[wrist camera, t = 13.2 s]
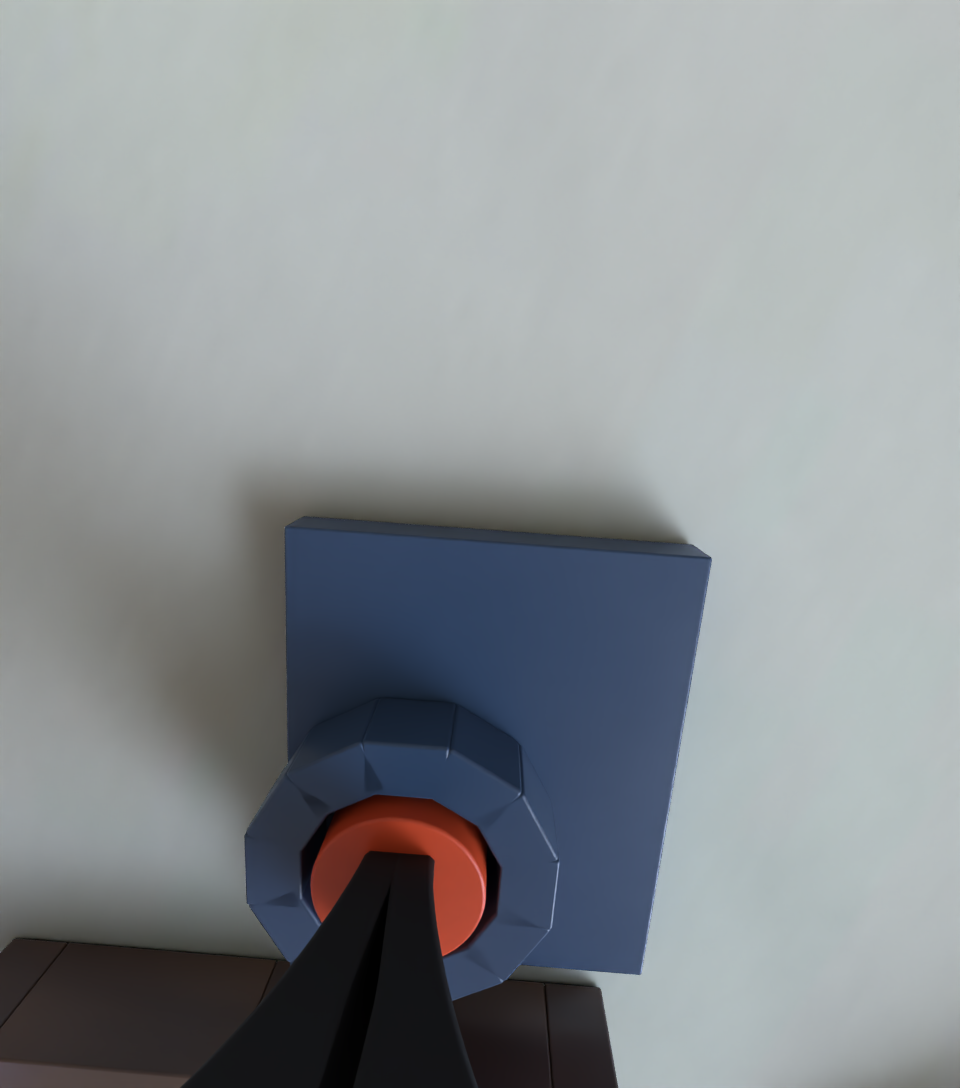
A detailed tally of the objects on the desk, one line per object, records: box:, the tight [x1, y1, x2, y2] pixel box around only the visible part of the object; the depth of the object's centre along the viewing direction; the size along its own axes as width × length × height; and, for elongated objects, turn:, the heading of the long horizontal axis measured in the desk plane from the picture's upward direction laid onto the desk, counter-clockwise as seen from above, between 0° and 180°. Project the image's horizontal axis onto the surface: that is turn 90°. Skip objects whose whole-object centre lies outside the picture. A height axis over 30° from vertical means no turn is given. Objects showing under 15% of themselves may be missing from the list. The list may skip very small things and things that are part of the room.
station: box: [244, 516, 712, 1001], centre depth 13 cm, size 9×11×3 cm
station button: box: [310, 795, 487, 956], centre depth 12 cm, size 4×4×2 cm
